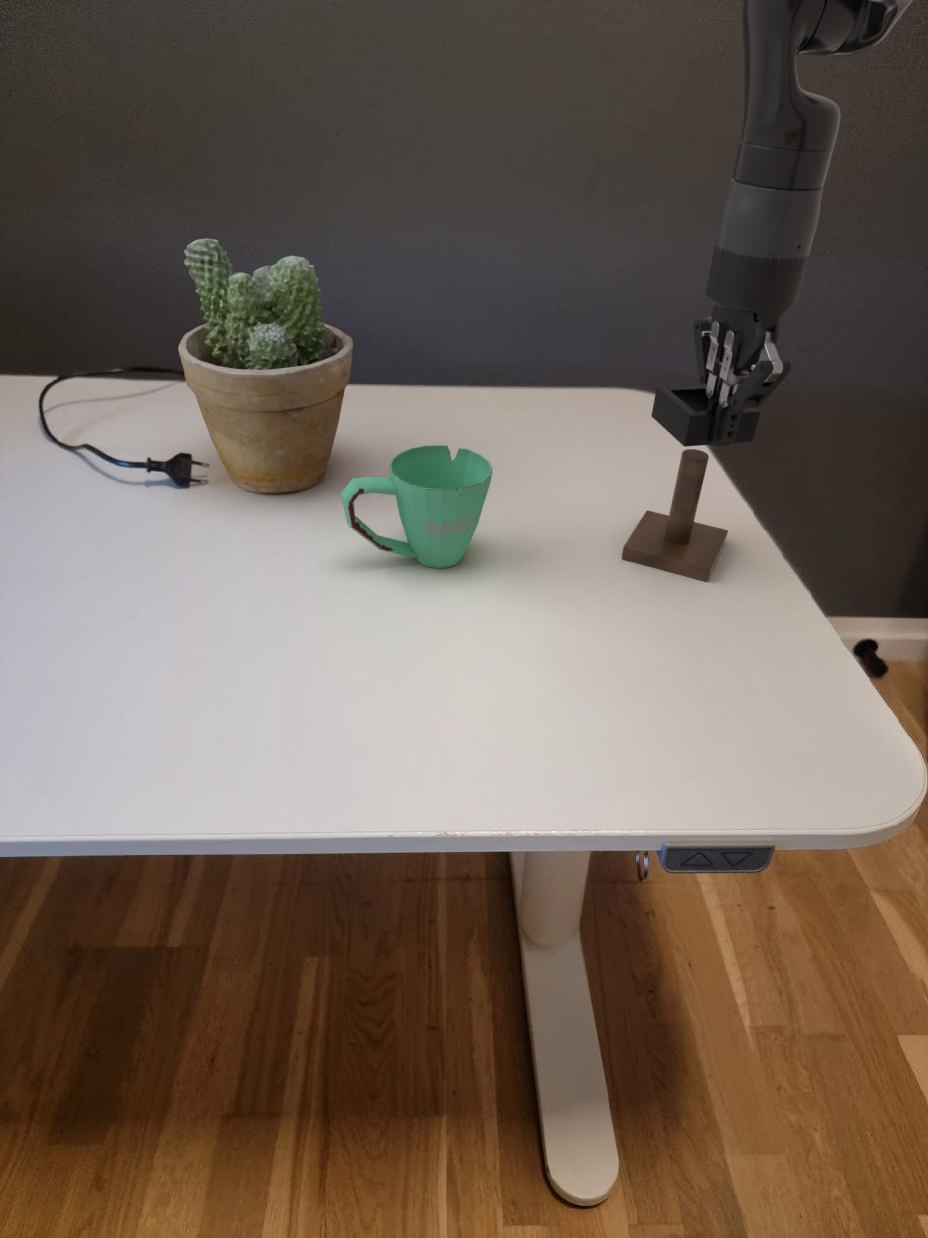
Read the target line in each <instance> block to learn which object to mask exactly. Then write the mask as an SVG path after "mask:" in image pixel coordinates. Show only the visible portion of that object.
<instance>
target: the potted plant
mask: <svg viewBox="0 0 928 1238" xmlns="http://www.w3.org/2000/svg"><path fill="white" fill-rule="evenodd" d="M183 253H184V254H185V256H186V258H185V259H184V261H183V264H184V266H186V267H187V268H189V270H188V271H189V272H188V274H189V276H190V278H191V279H192V280H193V282H194V283H195V288H196V289H195V290H194V291H195V293H197V294H198V295H199V301H200V302H201V307H200V311H202V312H203V313H204V316H203V317H202V320H204V321H205V324H201V325H199V326H197V327H195V328H193V329H192V330H190V331H188V332H187V333H185V334H184V335H183V337H182V338H181V340H180V342H179V343H178V347H177V349H178V354H179V358H180V361H181V365H182V368H183V372H184V378H185V383H186V386H187V388H189V389H190V390H191V391H192V393H193V394H194V396H195V398H196V401H197V404H198V407H199V411H200V412H201V415H202V419H203V421H204V424H205V426H206V429H207V431H208V434H209V437H210V440H211V441H212V444H213V446H214V449H215V450H216V453H217V456H218V457H219V459H220V461H221V463H222V465H223V466H224V468H225V471H226V473H227V475H228V477H229V478H230V480H231V481H232V482H234V484H235V485H236V486H238V487H239V488H241V489H242V490H244V491H247V492H250V493H256V494H257V493H259V494H273V495H279V494H287V493H297V492H301V491H304V490H308V489H310V488H313V487H314V486H316V485H317V484H319V483H321V482H322V481H323V479H324V478H325V475H326V474H327V470H328V464H329V461H330V458H331V456H332V455H331V454H332V451H333V447H334V442H335V438H336V434H337V431H338V427H339V422H340V417H341V411H342V406H343V403H344V397H345V391H346V388H347V386H348V383H349V382H350V379H351V369H352V362H353V348H354V343H353V339H352V337H351V336H350V335H348V334H346V333H344V332H343V331H342V330H341V329H339V328H337V327H335V326H332V325H330V324H327V323H324V322H323V319H322V316H320V311H321V310H322V308H323V306H322V305H320V304H321V303H320V302H321V298H319V297H318V295H319V294H320V293H321V292H322V291H321V289H320V288H319V285H318V283H319V281H320V278H318V277H317V276H316V272H315V265H314V264H310V261H309V260H308V259H307V258H305V256H304V257H303V256H295V255H289V256H284V257H282V258H280V259H279V260H278V261H277V262H276V263H275V264H273V265H265V266H262V267H259V268H257V269H256V270H254V271H253V274H252V276H251V275H250V274H248V273H246V272H242V271H241V272H235V271H234V270H233V264H232V263H231V261H230V258H229V257H228V256H227V254H228V251H227V250H224V249H223V247H222V246H221V245H219V240H218V239H214V238H200V239H196V240H194V241H192V242H191V243H189V244H188V245H187V246H186V248H185V249H184V250H183Z"/></svg>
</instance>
